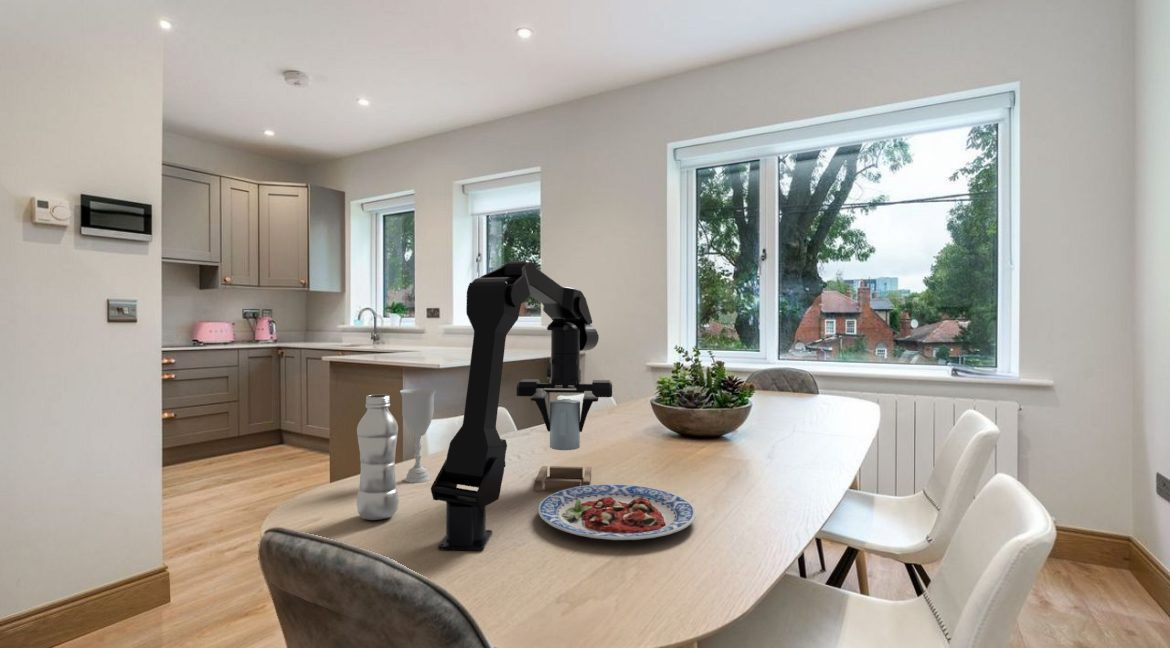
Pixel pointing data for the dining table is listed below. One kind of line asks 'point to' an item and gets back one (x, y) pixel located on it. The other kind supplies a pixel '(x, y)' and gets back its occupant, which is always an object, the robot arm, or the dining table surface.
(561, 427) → the jug
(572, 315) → the robot arm
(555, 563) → the dining table surface
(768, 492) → the dining table surface
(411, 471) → the chalice
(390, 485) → the plastic bottle
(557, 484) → the jug holder
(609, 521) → the ceramic plate
